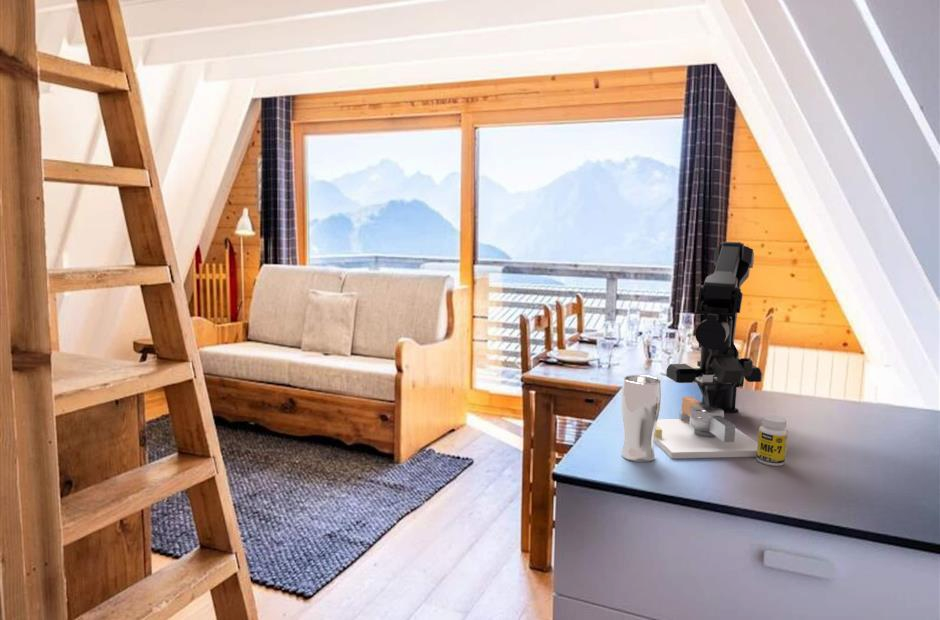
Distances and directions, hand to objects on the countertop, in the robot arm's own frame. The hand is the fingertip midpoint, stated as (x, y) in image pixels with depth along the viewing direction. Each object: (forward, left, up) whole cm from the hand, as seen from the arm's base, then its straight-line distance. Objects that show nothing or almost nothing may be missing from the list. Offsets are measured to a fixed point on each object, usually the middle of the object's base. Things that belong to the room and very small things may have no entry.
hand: (710, 411), depth 137 cm
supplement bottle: (-3, +19, -4) cm, 19 cm away
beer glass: (+21, +15, -4) cm, 26 cm away
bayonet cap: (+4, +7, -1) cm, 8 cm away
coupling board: (+6, +7, -4) cm, 10 cm away
